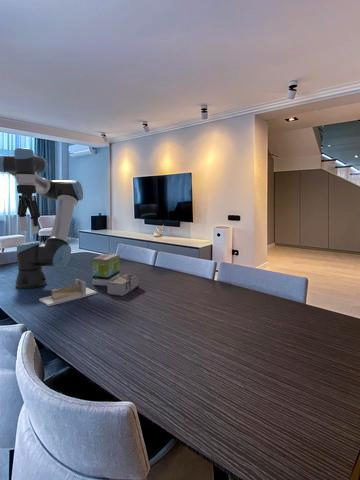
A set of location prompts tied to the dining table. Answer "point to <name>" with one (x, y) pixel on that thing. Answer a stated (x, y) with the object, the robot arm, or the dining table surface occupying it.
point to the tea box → (105, 268)
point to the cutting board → (66, 298)
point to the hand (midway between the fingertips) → (29, 232)
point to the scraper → (70, 290)
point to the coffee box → (123, 285)
